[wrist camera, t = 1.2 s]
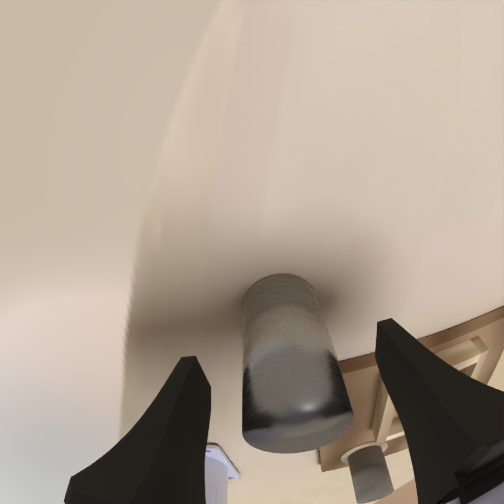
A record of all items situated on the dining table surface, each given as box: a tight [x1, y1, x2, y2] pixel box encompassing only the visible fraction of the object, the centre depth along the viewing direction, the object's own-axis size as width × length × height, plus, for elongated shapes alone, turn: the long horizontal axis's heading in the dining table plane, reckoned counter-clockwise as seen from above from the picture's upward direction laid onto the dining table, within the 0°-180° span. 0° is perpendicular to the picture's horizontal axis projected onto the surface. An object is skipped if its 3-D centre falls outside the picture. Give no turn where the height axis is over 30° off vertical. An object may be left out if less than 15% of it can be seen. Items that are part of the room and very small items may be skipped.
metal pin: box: [242, 274, 354, 453], centre depth 11 cm, size 4×4×7 cm
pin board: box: [319, 306, 504, 503], centre depth 17 cm, size 16×16×6 cm
